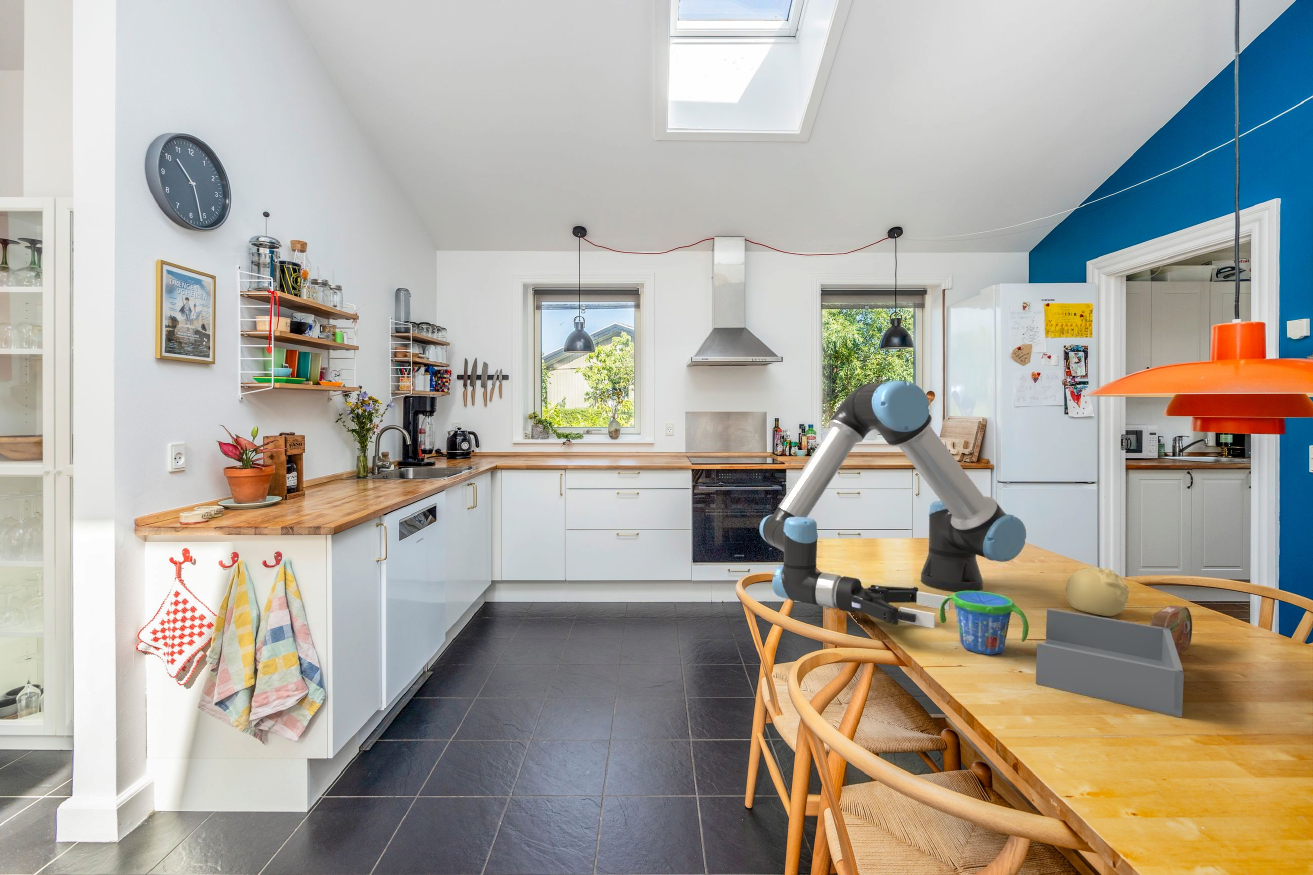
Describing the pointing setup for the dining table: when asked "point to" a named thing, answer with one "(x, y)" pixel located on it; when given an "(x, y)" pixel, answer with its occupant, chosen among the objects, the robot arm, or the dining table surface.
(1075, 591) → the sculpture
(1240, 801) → the dining table surface
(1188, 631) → the tin
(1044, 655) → the bin
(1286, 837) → the dining table surface
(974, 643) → the snack cup
